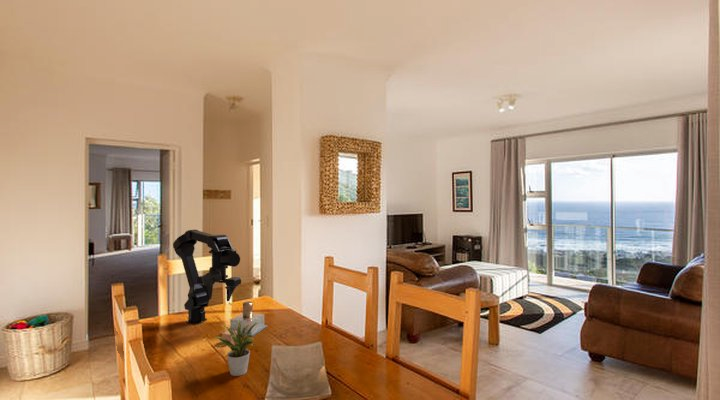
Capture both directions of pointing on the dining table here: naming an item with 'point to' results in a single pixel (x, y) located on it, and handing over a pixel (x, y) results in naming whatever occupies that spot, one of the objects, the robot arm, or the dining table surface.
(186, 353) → the dining table surface
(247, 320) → the cover
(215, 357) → the dining table surface
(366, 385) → the dining table surface
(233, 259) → the robot arm
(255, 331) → the mat
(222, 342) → the visible block
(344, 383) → the dining table surface
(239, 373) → the house plant
